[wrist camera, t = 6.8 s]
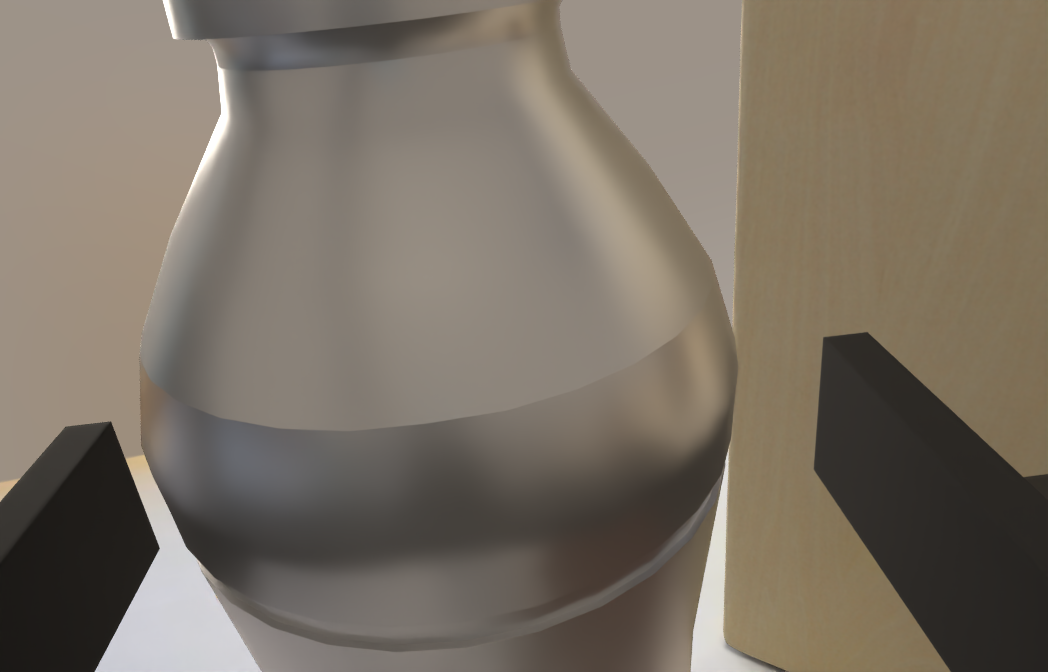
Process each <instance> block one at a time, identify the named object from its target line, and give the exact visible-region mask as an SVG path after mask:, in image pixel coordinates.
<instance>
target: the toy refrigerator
mask: <svg viewBox="0 0 1048 672" xmlns="http://www.w3.org/2000/svg"><path fill="white" fill-rule="evenodd" d="M739 90H740V91H739V120H738V122H739V123H738V124H739V125H738V164H737V198H736V200H737V202H736V229H735V230H736V231H735V252H734V256H735V257H734V259H735V260H734V294H733V327H732V330H733V334H734V337H735V343H736V351H737V359H738V375H737V383H736V391H735V400H734V411H733V423H732V434H731V441H730V445H729V462H728V492H727V520H726V562H725V588H724V626H723V632H724V638H725V640H726V643H727V644H729V645H730V646H731V647H733V648H735V649H737V650H739V651H741V652H743V653H745V654H747V655H750V656H752V657H754V658H757V659H759V660H761V661H764V662H766V663H769V664H771V665H774V666H776V667H779V668H781V669H783V670H786V671H788V672H951V671H950V670H949V668H948V667H947V666H946V664H945V663H944V661H943V660H942V658H941V657H940V655H939V654H938V652H937V651H936V649H935V648H934V646H933V645H932V643H931V642H930V640H929V639H928V637H927V636H926V635H925V633H924V632H923V630H922V629H921V627H920V626H919V624H918V623H917V621H916V620H915V618H914V617H913V615H912V614H911V612H910V611H909V609H908V608H907V607H906V605H905V604H904V602H903V601H902V599H901V598H900V596H899V595H898V593H897V592H896V590H895V589H894V587H893V586H892V584H891V583H890V581H889V580H888V579H887V577H886V576H885V574H884V573H883V571H882V570H881V568H880V567H879V565H878V564H877V562H876V561H875V559H874V558H873V556H872V555H871V553H870V552H869V550H868V549H867V548H866V546H865V545H864V543H863V542H862V540H861V539H860V537H859V536H858V534H857V533H856V531H855V530H854V528H853V527H852V525H851V524H850V522H849V521H848V520H847V518H846V517H845V515H844V514H843V512H842V511H841V509H840V508H839V506H838V505H837V503H836V502H835V500H834V499H833V497H832V496H831V494H830V493H829V491H828V490H827V489H826V487H825V486H824V484H823V483H822V481H821V480H820V478H819V477H818V475H817V474H816V472H815V471H814V458H815V444H816V430H817V416H818V402H819V389H820V375H821V361H822V347H823V337H829V336H838V335H846V334H855V333H863V332H868V333H869V334H870V335H871V336H872V337H873V338H874V339H875V340H877V341H878V342H879V343H880V344H881V345H882V346H883V347H884V348H885V349H886V350H887V351H888V352H889V353H891V354H892V355H893V356H894V357H895V358H896V359H897V360H898V361H899V362H900V363H901V364H902V365H903V366H904V367H906V368H907V369H908V370H909V371H910V372H911V373H912V374H913V375H914V376H915V377H916V378H917V379H918V380H920V381H921V382H922V383H923V384H924V385H925V386H926V387H927V388H928V389H929V390H930V391H931V392H932V393H934V394H935V395H936V396H937V397H938V398H939V399H940V400H941V401H942V402H943V403H944V404H945V405H946V406H948V407H949V408H950V409H951V410H952V411H953V412H954V413H955V414H956V415H957V416H958V417H959V418H960V419H961V420H963V421H964V422H965V423H966V424H967V425H968V426H969V427H970V428H971V429H972V430H973V431H974V432H975V433H977V434H978V435H979V436H980V437H981V438H982V439H983V440H984V441H985V442H986V443H987V444H988V445H989V446H991V447H992V448H993V449H994V450H995V451H996V452H997V453H998V454H999V455H1000V456H1001V457H1002V458H1003V459H1005V460H1006V461H1007V462H1008V463H1009V464H1010V465H1011V466H1012V467H1013V468H1014V469H1015V470H1016V471H1017V472H1018V473H1020V474H1021V475H1022V476H1023V477H1027V476H1036V475H1044V474H1048V0H742V21H741V47H740V88H739Z"/></svg>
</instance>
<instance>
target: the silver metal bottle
mask: <svg viewBox="0 0 1048 672" xmlns="http://www.w3.org/2000/svg"><path fill="white" fill-rule="evenodd" d="M561 2H562V0H163V3H164V6H165V10H166V14H167V17H168V21H169V25H170V28H171V32H172V36H173V39H182V40H193V39H194V40H197V39H198V40H202V39H206V41H208V43H209V44H210V45H211V46H212V47H213V50H214V54H215V58H216V61H217V65H218V76H219V87H220V97H221V108H222V114H221V116H220V118H219V121H218V123H217V126H216V128H215V130H214V133H213V135H212V138H211V140H210V143H209V145H208V147H207V150H206V152H205V155H204V157H203V159H202V161H201V164H200V166H199V169H198V171H197V173H196V176H195V179H194V181H193V183H192V185H191V188H190V190H189V193H188V195H187V197H186V200H185V202H184V205H183V207H182V209H181V212H180V214H179V217H178V219H177V221H176V224H175V226H174V228H173V231H172V233H171V236H170V239H169V243H168V246H167V249H166V253H165V256H164V260H163V263H162V266H161V270H160V273H159V277H158V280H157V284H156V287H155V290H154V294H153V298H152V301H151V304H150V307H149V311H148V315H147V318H146V321H145V325H144V328H143V331H142V337H141V347H140V357H139V358H140V405H141V406H140V409H141V446H142V449H143V452H144V454H145V457H146V460H147V462H148V465H149V467H150V470H151V473H152V475H153V477H154V479H155V481H156V483H157V486H158V488H159V490H160V492H161V494H162V496H163V498H164V500H165V502H166V504H167V506H168V508H169V510H170V512H171V514H172V516H173V519H174V521H175V523H176V525H177V527H178V530H179V532H180V534H181V536H182V539H183V541H184V543H185V545H186V547H187V549H188V550H189V551H190V552H191V553H192V554H193V555H194V556H195V557H196V558H197V561H198V563H199V566H200V568H201V571H202V573H203V574H204V576H205V578H206V579H207V581H208V583H209V584H210V586H211V588H212V589H213V591H214V593H215V594H216V596H217V598H218V599H219V601H220V603H221V604H222V606H223V608H224V609H225V611H226V613H227V614H228V616H229V618H230V619H231V621H232V623H233V624H234V626H235V628H236V629H237V631H238V633H239V634H240V636H241V638H242V639H243V641H244V643H245V644H246V646H247V648H248V650H249V651H250V653H251V655H252V656H253V658H254V660H255V661H256V663H257V665H258V666H259V668H260V670H261V671H262V672H691V656H692V640H693V629H694V623H695V618H696V613H697V608H698V603H699V598H700V593H701V587H702V582H703V577H704V572H705V567H706V562H707V557H708V551H709V546H710V541H711V536H712V531H713V526H714V521H715V515H716V510H717V505H718V500H719V495H720V490H721V485H722V479H723V474H724V469H725V460H726V456H727V452H728V449H729V445H730V441H731V434H732V423H733V411H734V400H735V391H736V383H737V375H738V359H737V351H736V343H735V337H734V334H733V330H732V327H731V324H730V320H729V317H728V314H727V310H726V307H725V304H724V301H723V297H722V294H721V291H720V287H719V284H718V280H717V277H716V274H715V270H714V267H713V264H712V261H711V259H710V258H709V256H708V255H707V253H706V251H705V250H704V248H703V247H702V245H701V244H700V242H699V240H698V239H697V237H696V236H695V234H694V233H693V231H692V230H691V228H690V227H689V225H688V224H687V222H686V221H685V219H684V218H683V216H682V215H681V213H680V211H679V210H678V209H677V207H676V205H675V204H674V202H673V201H672V199H671V198H670V196H669V195H668V193H667V192H666V190H665V189H664V187H663V186H662V184H661V183H660V181H659V179H658V178H657V176H656V175H655V173H654V172H653V170H652V169H651V167H650V166H649V164H648V163H647V162H646V161H645V159H644V158H643V157H642V156H641V154H640V153H639V152H638V151H637V149H636V148H635V147H634V146H633V145H632V143H631V142H630V141H629V140H628V138H627V137H626V136H625V135H624V134H623V132H622V131H621V130H620V129H619V128H618V126H617V125H616V124H615V123H614V121H613V120H612V119H611V118H610V116H609V115H608V114H607V113H606V111H605V110H604V109H603V108H602V107H601V105H600V104H599V103H598V102H597V100H596V99H595V98H594V97H593V96H592V94H591V93H590V92H589V91H588V90H587V88H586V87H585V86H584V85H583V83H582V82H581V81H580V80H579V78H577V76H576V75H575V74H574V73H573V71H572V70H571V68H570V64H569V59H568V55H567V51H566V47H565V42H564V38H563V34H562V30H561V25H560V11H559V6H560V4H561Z"/></svg>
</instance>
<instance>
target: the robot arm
mask: <svg viewBox="0 0 1048 672" xmlns="http://www.w3.org/2000/svg"><path fill="white" fill-rule="evenodd" d="M814 471H815V472H816V474H817V475H818V477H819V478H820V480H821V481H822V483H823V484H824V486H825V487H826V489H827V490H828V491H829V493H830V494H831V496H832V497H833V499H834V500H835V502H836V503H837V505H838V506H839V508H840V509H841V511H842V512H843V514H844V515H845V517H846V518H847V520H848V521H849V522H850V524H851V525H852V527H853V528H854V530H855V531H856V533H857V534H858V536H859V537H860V539H861V540H862V542H863V543H864V545H865V546H866V548H867V549H868V550H869V552H870V553H871V555H872V556H873V558H874V559H875V561H876V562H877V564H878V565H879V567H880V568H881V570H882V571H883V573H884V574H885V576H886V577H887V579H888V580H889V581H890V583H891V584H892V586H893V587H894V589H895V590H896V592H897V593H898V595H899V596H900V598H901V599H902V601H903V602H904V604H905V605H906V607H907V608H908V609H909V611H910V612H911V614H912V615H913V617H914V618H915V620H916V621H917V623H918V624H919V626H920V627H921V629H922V630H923V632H924V633H925V635H926V636H927V637H928V639H929V640H930V642H931V643H932V645H933V646H934V648H935V649H936V651H937V652H938V654H939V655H940V657H941V658H942V660H943V661H944V663H945V664H946V666H947V667H948V668H949V670H950V671H951V672H1048V474H1044V475H1036V476H1027V477H1023V476H1022V475H1021V474H1020V473H1018V472H1017V471H1016V470H1015V469H1014V468H1013V467H1012V466H1011V465H1010V464H1009V463H1008V462H1007V461H1006V460H1005V459H1003V458H1002V457H1001V456H1000V455H999V454H998V453H997V452H996V451H995V450H994V449H993V448H992V447H991V446H989V445H988V444H987V443H986V442H985V441H984V440H983V439H982V438H981V437H980V436H979V435H978V434H977V433H975V432H974V431H973V430H972V429H971V428H970V427H969V426H968V425H967V424H966V423H965V422H964V421H963V420H961V419H960V418H959V417H958V416H957V415H956V414H955V413H954V412H953V411H952V410H951V409H950V408H949V407H948V406H946V405H945V404H944V403H943V402H942V401H941V400H940V399H939V398H938V397H937V396H936V395H935V394H934V393H932V392H931V391H930V390H929V389H928V388H927V387H926V386H925V385H924V384H923V383H922V382H921V381H920V380H918V379H917V378H916V377H915V376H914V375H913V374H912V373H911V372H910V371H909V370H908V369H907V368H906V367H904V366H903V365H902V364H901V363H900V362H899V361H898V360H897V359H896V358H895V357H894V356H893V355H892V354H891V353H889V352H888V351H887V350H886V349H885V348H884V347H883V346H882V345H881V344H880V343H879V342H878V341H877V340H875V339H874V338H873V337H872V336H871V335H870V334H869V333H868V332H863V333H855V334H846V335H838V336H829V337H823V347H822V361H821V375H820V389H819V402H818V416H817V430H816V444H815V458H814ZM159 549H160V548H159V545H158V543H157V540H156V537H155V535H154V532H153V530H152V527H151V524H150V522H149V519H148V517H147V514H146V511H145V509H144V506H143V504H142V501H141V498H140V496H139V493H138V491H137V488H136V485H135V483H134V480H133V478H132V475H131V472H130V470H129V467H128V465H127V462H126V459H125V457H124V454H123V452H122V449H121V447H120V444H119V441H118V439H117V436H116V434H115V431H114V429H113V426H112V423H111V422H102V423H94V424H85V425H77V426H68V427H65V428H64V429H63V430H62V432H61V433H60V434H59V435H58V436H57V437H56V438H55V440H54V441H53V442H52V443H51V444H50V445H49V447H48V448H47V449H46V450H45V451H44V452H43V453H42V455H41V456H40V457H39V458H38V459H37V460H36V461H35V463H34V464H33V465H32V466H31V467H30V468H29V469H28V471H27V472H26V473H25V474H24V475H23V476H22V478H21V479H20V480H19V481H18V482H17V483H16V484H15V486H14V487H13V488H12V489H11V490H10V491H9V492H8V494H7V495H6V496H5V497H4V498H3V499H2V501H1V502H0V672H95V670H96V668H97V666H98V664H99V662H100V660H101V659H102V657H103V655H104V653H105V651H106V649H107V647H108V645H109V643H110V641H111V640H112V638H113V636H114V634H115V632H116V630H117V628H118V626H119V624H120V623H121V621H122V619H123V617H124V615H125V613H126V611H127V609H128V607H129V606H130V604H131V602H132V600H133V598H134V596H135V594H136V592H137V590H138V589H139V587H140V585H141V583H142V581H143V579H144V577H145V575H146V573H147V571H148V570H149V568H150V566H151V564H152V562H153V560H154V558H155V556H156V554H157V553H158V551H159Z"/></svg>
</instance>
